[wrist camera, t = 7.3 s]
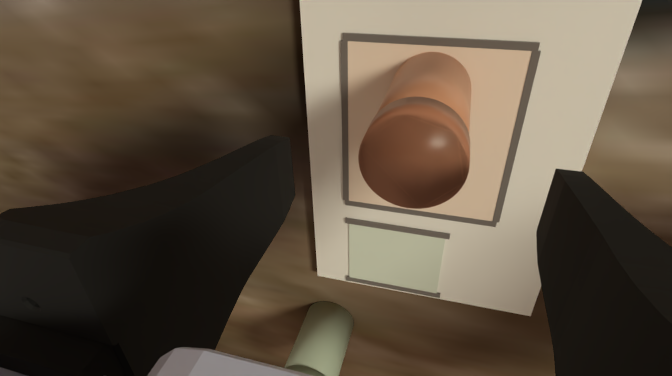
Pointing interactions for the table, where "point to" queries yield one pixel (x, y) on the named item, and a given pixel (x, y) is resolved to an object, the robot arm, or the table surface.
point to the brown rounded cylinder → (420, 134)
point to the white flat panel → (485, 135)
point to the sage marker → (322, 340)
